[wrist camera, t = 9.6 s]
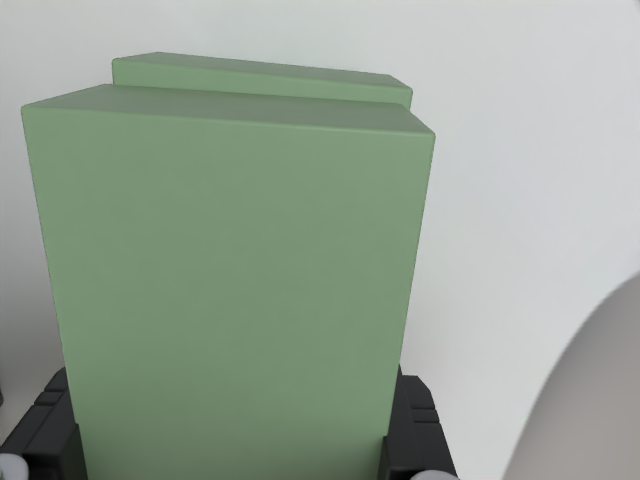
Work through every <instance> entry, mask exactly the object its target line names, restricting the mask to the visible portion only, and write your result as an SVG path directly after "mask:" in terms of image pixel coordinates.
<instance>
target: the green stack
mask: <svg viewBox="0 0 640 480" xmlns="http://www.w3.org/2000/svg"><path fill="white" fill-rule="evenodd" d="M112 75H113V84H114V85H129V86H144V87H159V88H174V89H189V90H203V91H218V92H233V93H248V94H263V95H277V96H292V97H307V98H322V99H337V100H351V101H366V102H381V103H396V104H401V105H403V106H404V107H405V108H406V109H407V110H409V111H410V106H411V100H412V94H413V91H412V88H410V87H408V86H407V85H405V84H403V83H402V82H400V81H399V80H397V79H395V78H394V77H392V76H390V75H386V74H376V73H367V72H356V71H346V70H335V69H325V68H315V67H305V66H295V65H285V64H275V63H265V62H255V61H245V60H235V59H224V58H214V57H204V56H194V55H184V54H174V53H164V52H155V53H148V54H142V55H135V56H128V57H122V58H116V59H113V60H112Z"/></svg>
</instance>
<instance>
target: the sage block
mask: <svg viewBox="0 0 640 480" xmlns="http://www.w3.org/2000/svg"><path fill="white" fill-rule="evenodd" d="M21 115H22V121H23V127H24V132H25V138H26V144H27V150H28V155H29V161H30V167H31V172H32V178H33V184H34V190H35V195H36V201H37V207H38V213H39V218H40V224H41V230H42V235H43V241H44V247H45V253H46V258H47V264H48V270H49V276H50V281H51V287H52V293H53V299H54V304H55V310H56V316H57V321H58V327H59V333H60V339H61V344H62V350H63V356H64V362H65V367H66V373H67V379H68V384H69V390H70V396H71V402H72V407H73V413H74V419H75V423H77V424H79V429H80V435H81V440H82V446H83V452H84V458H85V463H86V469H87V475H88V480H377V475H378V468H379V462H380V455H381V449H382V442H383V436H387V434H388V429H389V423H390V416H391V410H392V404H393V398H394V392H395V385H396V379H397V373H398V367H399V361H400V354H401V348H402V342H403V336H404V330H405V323H406V317H407V311H408V305H409V299H410V292H411V286H412V280H413V274H414V268H415V261H416V255H417V249H418V243H419V237H420V230H421V224H422V218H423V212H424V206H425V199H426V193H427V187H428V181H429V175H430V168H431V162H432V156H433V150H434V144H435V133H434V132H433V131H432V130H431V129H429V128H428V127H427V126H426V125H425V124H424V123H422V122H421V121H420V120H419V119H418V118H417V117H416V116H414V115H413V114H412V113H411V112H410V111H409V110H407V109H406V108H405V107H404V106H403V105H401V104H396V103H381V102H366V101H351V100H337V99H322V98H307V97H292V96H277V95H263V94H248V93H233V92H218V91H203V90H189V89H174V88H159V87H144V86H129V85H114V84H102V85H98V86H95V87H91V88H87V89H83V90H79V91H76V92H72V93H68V94H64V95H61V96H57V97H53V98H49V99H45V100H42V101H38V102H34V103H30V104H27V105H24V106H22V107H21Z"/></svg>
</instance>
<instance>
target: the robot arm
mask: <svg viewBox="0 0 640 480" xmlns="http://www.w3.org/2000/svg"><path fill="white" fill-rule="evenodd" d="M0 480H88V475H87V469H86V463H85V458H84V452H83V446H82V440H81V435H80V429H79V424H77V423H75V419H74V413H73V407H72V402H71V396H70V390H69V384H68V379H67V373H66V367H64V368H62V369H61V370H59V371H58V372H57V373H56V374H55V375H54V376H53V378H52V379H51V380H50V382H49V383H48V384H47V386H46V387H45V388H44V392H41V394H40V395H39V396H38V398H37V399H36V400H35V402H34V405H32V406H31V407H30V408H29V410H28V411H27V412H26V414H25V415H24V416H23V418H22V419H21V420H20V422H19V423H18V424H17V426H16V427H15V428H14V430H13V431H12V432H11V434H10V435H9V436H8V438H7V439H6V440H5V442H4V443H3V444H2V446H1V447H0ZM377 480H460V479H459V478H458V476H457V474H456V470H455V467H454V464H453V461H452V458H451V455H450V452H449V448H448V445H447V442H446V439H445V436H444V433H443V430H442V426H441V424H440V423H439V417H438V414H437V411H436V410H435V404H434V401H433V398H432V395H431V392H430V390H429V389H428V388H427V386H426V385H425V384H424V383H423V382H422V381H421V380H420V378H419V377H418V376H408V375H402V371H401V367H400V363H399V367H398V373H397V379H396V385H395V392H394V398H393V404H392V410H391V416H390V423H389V429H388V434H387V436H383V442H382V449H381V455H380V462H379V468H378V475H377Z"/></svg>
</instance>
